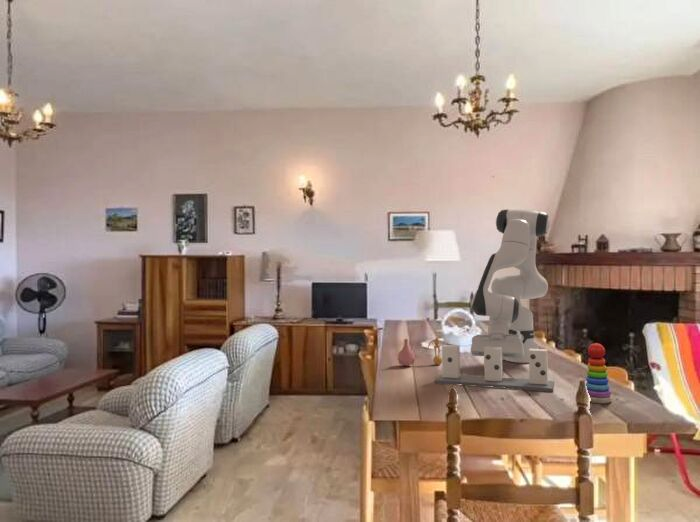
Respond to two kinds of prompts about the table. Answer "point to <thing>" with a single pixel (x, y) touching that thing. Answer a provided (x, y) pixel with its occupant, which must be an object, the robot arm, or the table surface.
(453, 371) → the key one
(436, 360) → the figurine
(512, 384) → the grey flat board
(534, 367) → the key three
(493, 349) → the key two
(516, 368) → the table surface
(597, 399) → the stacking toy
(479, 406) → the table surface
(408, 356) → the perfume bottle
